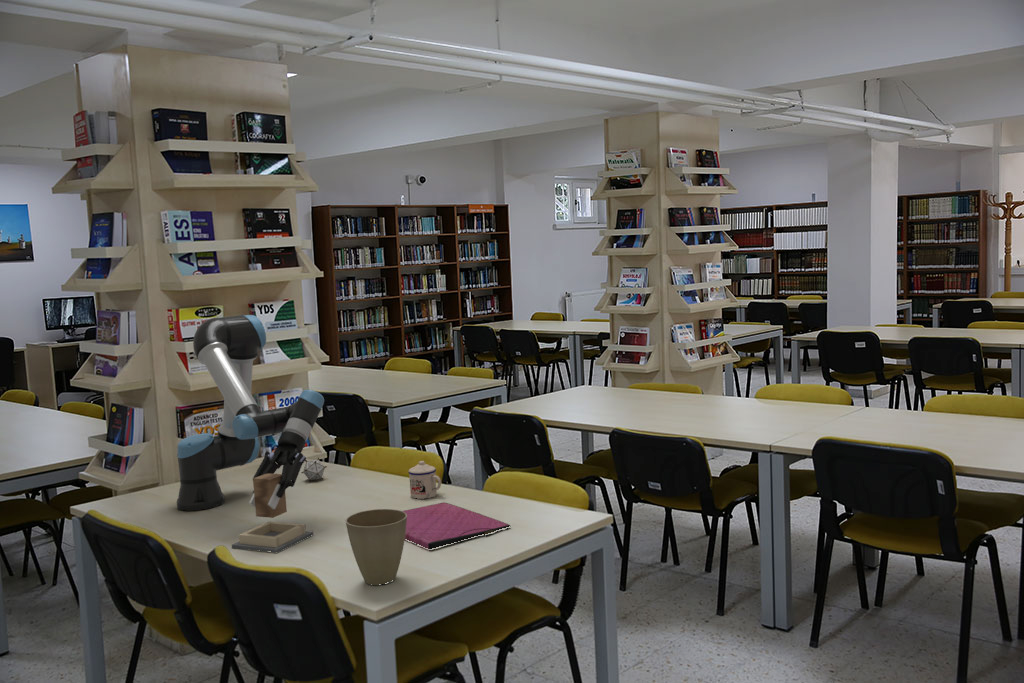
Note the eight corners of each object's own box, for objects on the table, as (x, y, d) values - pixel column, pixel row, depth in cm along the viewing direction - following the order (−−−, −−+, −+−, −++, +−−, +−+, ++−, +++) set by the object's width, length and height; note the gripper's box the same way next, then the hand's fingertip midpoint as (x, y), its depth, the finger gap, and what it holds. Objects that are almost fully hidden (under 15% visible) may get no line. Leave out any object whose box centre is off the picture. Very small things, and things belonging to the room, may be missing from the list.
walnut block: (256, 516, 249) (252, 478, 248) (270, 510, 255) (267, 473, 254) (272, 517, 247) (269, 479, 246) (286, 511, 252) (283, 474, 251)
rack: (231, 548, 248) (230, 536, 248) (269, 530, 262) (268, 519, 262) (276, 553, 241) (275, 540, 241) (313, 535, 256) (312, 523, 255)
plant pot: (376, 596, 206) (371, 530, 204) (337, 583, 216) (333, 520, 214) (423, 577, 217) (419, 514, 215) (384, 565, 227) (380, 505, 225)
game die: (319, 490, 321) (322, 472, 315) (297, 483, 321) (299, 465, 315) (327, 473, 328) (330, 455, 322) (305, 466, 328) (308, 448, 322)
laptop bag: (366, 512, 264) (443, 495, 280) (367, 525, 264) (444, 508, 280) (436, 541, 232) (518, 520, 248) (436, 556, 232) (518, 534, 248)
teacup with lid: (404, 497, 291) (402, 463, 289) (421, 491, 298) (419, 457, 297) (432, 501, 284) (430, 466, 283) (449, 494, 291) (447, 460, 290)
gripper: (326, 444, 259) (295, 514, 246) (275, 442, 267) (243, 510, 254) (314, 430, 254) (281, 501, 241) (262, 429, 262) (228, 497, 249)
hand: (261, 505), depth 247 cm, fingers closed on walnut block, 6 cm apart
